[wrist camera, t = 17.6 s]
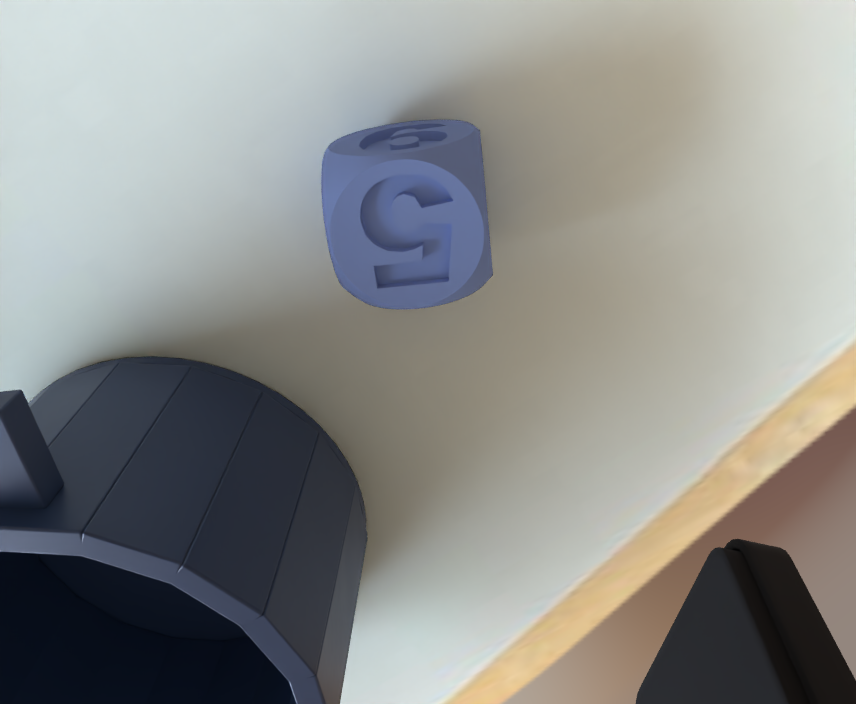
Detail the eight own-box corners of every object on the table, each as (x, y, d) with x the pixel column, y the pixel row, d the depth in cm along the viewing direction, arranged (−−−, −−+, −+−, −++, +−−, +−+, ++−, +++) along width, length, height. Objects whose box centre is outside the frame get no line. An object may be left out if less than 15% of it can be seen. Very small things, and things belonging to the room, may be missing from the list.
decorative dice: (360, 261, 23) (341, 317, 19) (337, 129, 21) (311, 164, 18) (490, 248, 23) (495, 302, 19) (478, 112, 21) (480, 144, 17)
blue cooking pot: (307, 256, 23) (231, 403, 16) (404, 676, 32) (385, 899, 24) (-98, 306, 24) (-348, 462, 17) (101, 695, 33) (-5, 911, 26)
